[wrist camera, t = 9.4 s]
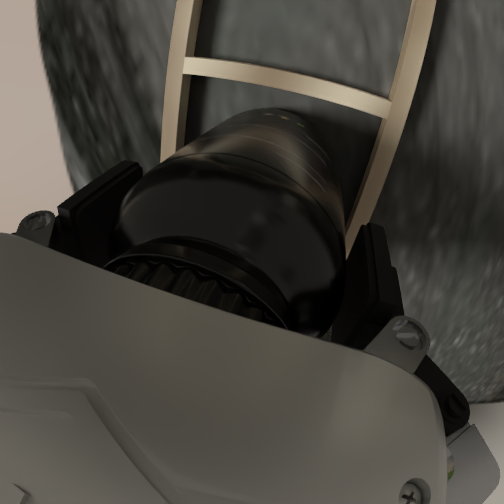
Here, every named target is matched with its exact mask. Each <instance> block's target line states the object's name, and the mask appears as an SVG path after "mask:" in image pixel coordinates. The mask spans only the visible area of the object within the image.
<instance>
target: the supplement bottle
mask: <svg viewBox="0 0 504 504" xmlns="http://www.w3.org/2000/svg"><path fill="white" fill-rule="evenodd" d="M108 259H109V261H108V262H107V263H106V264H105V265H104V266H103V267H102V268H101V269H104V270H107V271H109V272H112V273H114V274H117V275H120V276H123V277H125V278H128V279H131V280H133V281H136V282H139V283H142V284H145V285H147V286H150V287H153V288H156V289H159V290H162V291H165V292H168V293H170V294H173V295H176V296H179V297H182V298H185V299H189V300H192V301H195V302H198V303H201V304H204V305H207V306H210V307H213V308H217V309H220V310H223V311H226V312H229V313H233V314H236V315H239V316H243V317H246V318H249V319H252V320H256V321H259V322H263V323H266V324H269V325H273V326H276V327H280V328H283V329H287V330H291V331H294V332H298V333H301V334H305V335H309V336H313V337H316V338H320V339H321V338H322V337H323V336H324V335H325V333H326V332H327V331H328V330H329V328H330V327H331V325H332V324H333V322H334V321H335V319H336V317H337V315H338V313H339V310H340V308H341V305H342V302H343V298H344V292H345V284H346V243H345V224H344V209H343V195H342V183H341V175H340V169H339V164H338V160H337V157H336V155H335V152H334V150H333V148H332V146H331V145H330V143H329V141H328V140H327V139H326V137H325V136H324V135H323V134H322V133H321V132H320V130H319V129H318V128H316V127H315V126H314V125H313V124H312V123H310V122H309V121H307V120H306V119H304V118H302V117H300V116H298V115H296V114H293V113H291V112H287V111H284V110H279V109H271V108H262V109H254V110H249V111H245V112H242V113H239V114H237V115H235V116H233V117H231V118H229V119H227V120H225V121H224V122H222V123H220V124H219V125H217V126H216V127H214V128H212V129H211V130H209V131H208V132H206V133H204V134H203V135H201V136H200V137H198V138H197V139H195V140H194V141H192V142H191V143H189V144H188V145H186V146H185V147H183V148H182V149H180V150H179V151H177V152H176V153H174V154H173V155H171V156H170V157H168V158H167V159H166V160H164V161H163V162H161V163H160V164H158V165H157V166H156V167H154V168H153V169H152V170H150V171H149V172H148V173H146V174H145V175H144V176H143V177H142V178H141V179H140V180H138V181H137V182H136V183H135V184H134V185H133V186H132V187H131V188H130V189H129V191H128V192H127V193H126V194H125V196H124V197H123V199H122V200H121V202H120V204H119V205H118V207H117V210H116V212H115V214H114V217H113V220H112V224H111V227H110V233H109V239H108Z"/></svg>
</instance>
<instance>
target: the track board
mask: <svg viewBox="0 0 504 504" xmlns="http://www.w3.org/2000/svg"><path fill="white" fill-rule="evenodd" d="M202 3H203V0H177V5H176V10H175V17H174V23H173V30H172V37H171V44H170V52H169V60H168V68H167V78H166V88H165V98H164V111H163V124H162V141H161V162H163V161H164V160H166V159H167V158H168V157H170V156H171V155H173V154H174V153H176V152H177V151H179V150H180V149H182V148H183V147H184V139H185V128H186V118H187V108H188V99H189V90H190V82H191V74H192V75H201V76H209V77H217V78H224V79H230V80H237V81H243V82H248V83H254V84H259V85H264V86H269V87H274V88H279V89H284V90H288V91H292V92H297V93H301V94H305V95H309V96H313V97H317V98H320V99H324V100H328V101H331V102H335V103H338V104H342V105H345V106H348V107H351V108H355V109H358V110H361V111H364V112H367V113H370V114H373V115H376V116H379V117H382V121H381V125H380V128H379V131H378V134H377V138H376V141H375V144H374V147H373V150H372V153H371V156H370V159H369V162H368V165H367V168H366V171H365V174H364V177H363V180H362V183H361V185H360V188H359V191H358V194H357V197H356V199H355V202H354V205H353V208H352V210H351V213H350V216H349V218H348V221H347V224H346V226H345V243H346V260H347V257H348V255H349V253H350V250H351V248H352V246H353V243H354V241H355V238H356V236H357V234H358V231H359V229H360V227H361V225H362V224H363V225H367V223H368V222H369V220H370V218H371V215H372V213H373V211H374V208H375V206H376V203H377V200H378V198H379V195H380V193H381V190H382V188H383V185H384V182H385V180H386V177H387V174H388V171H389V169H390V166H391V163H392V160H393V158H394V155H395V152H396V149H397V146H398V143H399V140H400V137H401V134H402V131H403V128H404V125H405V122H406V119H407V115H408V112H409V109H410V106H411V102H412V99H413V96H414V92H415V89H416V85H417V82H418V78H419V74H420V71H421V67H422V63H423V59H424V55H425V51H426V47H427V43H428V38H429V34H430V29H431V25H432V20H433V15H434V10H435V5H436V0H412V4H411V9H410V13H409V18H408V23H407V27H406V32H405V36H404V40H403V45H402V49H401V53H400V57H399V61H398V65H397V68H396V72H395V76H394V80H393V83H392V87H391V91H390V94H389V98H388V99H386V98H383V97H380V96H377V95H374V94H371V93H369V92H365V91H362V90H359V89H356V88H353V87H350V86H346V85H343V84H339V83H336V82H332V81H329V80H325V79H321V78H317V77H313V76H309V75H305V74H301V73H297V72H292V71H288V70H283V69H278V68H273V67H268V66H262V65H256V64H250V63H244V62H237V61H230V60H222V59H214V58H204V57H194V52H195V45H196V39H197V32H198V26H199V20H200V14H201V9H202ZM161 162H160V163H161Z"/></svg>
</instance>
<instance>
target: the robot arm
mask: <svg viewBox="0 0 504 504" xmlns="http://www.w3.org/2000/svg"><path fill="white" fill-rule="evenodd" d="M142 177H143V170H142V167H140V166H139V163H137V162H132V161H127V160H124V161H122V162H120V163H119V164H117V165H116V166H114V167H113V168H111V169H110V170H108V171H107V172H105V173H104V174H102V175H101V176H99V177H98V178H96V179H95V180H93V181H92V182H90V183H89V184H88V185H86V186H85V187H83V188H82V189H80V190H79V191H78V192H76V193H75V194H74V195H72V196H71V197H69V198H68V199H67V200H65V201H64V202H63V203H61V204H60V205H59V206H57V208H58V213H59V215H58V216H56V217H55V215H54V213H52V212H50V211H46V210H45V211H37V212H34V213H31V214H29V215H28V216H26V217H25V218H24V219H23V220H22V221H21V222H20V224H19V226H18V229H17V232H16V233H12V234H7V233H0V504H482V503H483V502H484V501H485V500H486V499H487V498H488V496H489V495H490V494H491V493H492V492H493V491H494V489H495V488H496V487H497V485H498V483H499V479H500V469H499V467H498V464H497V462H496V460H495V458H494V457H493V455H492V453H491V451H490V450H489V448H488V446H487V444H486V443H485V441H484V439H483V438H482V436H481V434H480V433H479V431H478V429H477V427H476V426H475V424H472V425H471V426H470V424H469V422H468V420H469V416H470V409H469V404H468V402H467V399H466V398H465V396H464V395H463V394H462V393H461V392H460V390H459V389H458V388H457V387H456V386H455V385H454V384H453V383H452V382H451V380H450V379H449V378H448V377H447V376H446V375H445V374H444V373H443V372H442V371H441V370H440V368H439V367H438V366H437V365H436V364H435V363H434V362H433V361H432V360H431V359H430V358H429V357H428V356H427V355H426V353H427V351H428V350H429V347H430V338H429V335H428V332H427V331H426V329H425V328H424V327H423V326H422V325H421V324H420V323H419V322H418V321H416V320H415V319H413V318H410V317H408V316H404V310H403V303H402V297H401V291H400V286H399V281H398V275H397V271H396V268H395V267H392V265H391V260H390V255H389V250H388V245H387V241H386V236H385V231H384V228H383V227H382V226H379V225H376V224H373V223H370V222H368V223H367V225H363V224H362V225H361V227H360V229H359V231H358V234H357V236H356V238H355V241H354V243H353V246H352V248H351V250H350V253H349V255H348V257H347V260H346V284H345V292H344V298H343V302H342V305H341V308H340V310H339V313H338V315H337V317H336V319H335V321H334V322H333V325H332V338H331V341H327V340H324V339H320V338H316V337H313V336H309V335H305V334H301V333H298V332H294V331H291V330H287V329H283V328H280V327H276V326H273V325H269V324H266V323H263V322H259V321H256V320H252V319H249V318H246V317H243V316H239V315H236V314H233V313H229V312H226V311H223V310H220V309H217V308H213V307H210V306H207V305H204V304H201V303H198V302H195V301H192V300H189V299H185V298H182V297H179V296H176V295H173V294H170V293H168V292H165V291H162V290H159V289H156V288H153V287H150V286H147V285H145V284H142V283H139V282H136V281H133V280H131V279H128V278H125V277H123V276H120V275H117V274H114V273H112V272H109V271H107V270H104V269H101V268H102V267H103V266H104V265H105V264H106V263H107V262H108V261H109V259H108V239H109V233H110V227H111V224H112V220H113V217H114V214H115V212H116V210H117V207H118V205H119V204H120V202H121V200H122V199H123V197H124V196H125V194H126V193H127V192H128V191H129V189H130V188H131V187H132V186H133V185H134V184H135V183H136V182H137V181H138V180H140V179H141V178H142Z"/></svg>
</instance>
